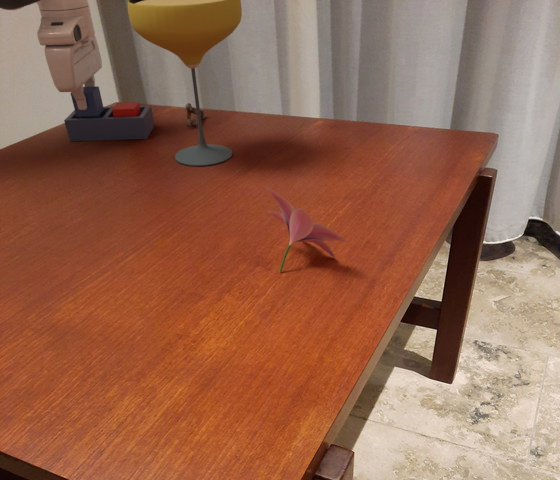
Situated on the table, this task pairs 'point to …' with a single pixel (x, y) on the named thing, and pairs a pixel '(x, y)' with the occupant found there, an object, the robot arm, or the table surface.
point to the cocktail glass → (188, 48)
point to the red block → (126, 110)
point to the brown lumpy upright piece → (193, 110)
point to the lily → (302, 226)
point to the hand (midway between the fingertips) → (87, 104)
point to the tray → (110, 126)
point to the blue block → (90, 103)
